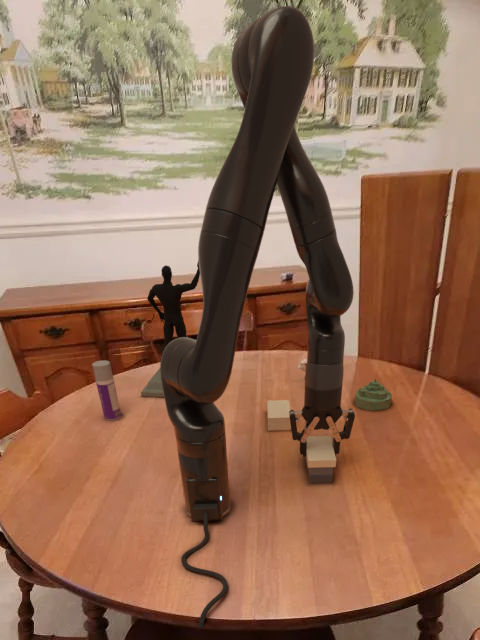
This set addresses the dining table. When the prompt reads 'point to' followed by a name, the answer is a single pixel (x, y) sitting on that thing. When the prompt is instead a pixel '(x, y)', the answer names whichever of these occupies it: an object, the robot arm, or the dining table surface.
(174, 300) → the statue
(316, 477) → the grey stack
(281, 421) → the small cream box
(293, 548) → the dining table surface
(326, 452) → the beige rectangular block
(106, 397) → the container
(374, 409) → the decorative artifact
